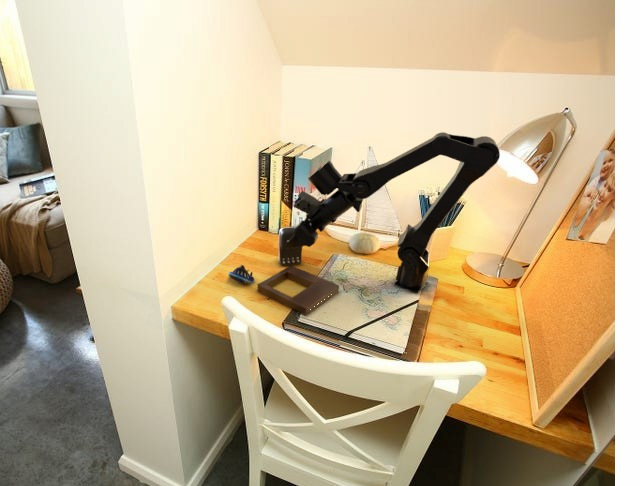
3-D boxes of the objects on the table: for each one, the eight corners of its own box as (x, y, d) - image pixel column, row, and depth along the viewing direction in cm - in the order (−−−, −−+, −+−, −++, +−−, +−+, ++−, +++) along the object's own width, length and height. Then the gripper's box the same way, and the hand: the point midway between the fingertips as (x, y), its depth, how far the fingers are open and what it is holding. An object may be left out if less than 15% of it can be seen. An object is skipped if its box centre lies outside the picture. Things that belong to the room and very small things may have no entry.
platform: (338, 292, 104) (339, 285, 103) (305, 316, 96) (306, 308, 95) (290, 271, 114) (291, 265, 113) (257, 291, 106) (257, 284, 105)
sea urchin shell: (378, 253, 117) (361, 232, 117) (357, 265, 123) (341, 245, 123) (386, 241, 124) (371, 221, 124) (366, 253, 130) (351, 234, 129)
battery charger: (280, 268, 116) (281, 232, 110) (277, 261, 119) (278, 226, 113) (303, 266, 117) (305, 230, 110) (300, 259, 120) (302, 224, 114)
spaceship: (256, 273, 113) (255, 260, 109) (253, 289, 108) (252, 276, 105) (231, 272, 114) (229, 259, 111) (227, 287, 110) (224, 274, 106)
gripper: (321, 173, 110) (282, 207, 120) (303, 195, 96) (261, 231, 105) (347, 203, 112) (306, 234, 121) (333, 230, 97) (288, 262, 107)
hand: (291, 239), depth 114 cm, fingers open, 9 cm apart
